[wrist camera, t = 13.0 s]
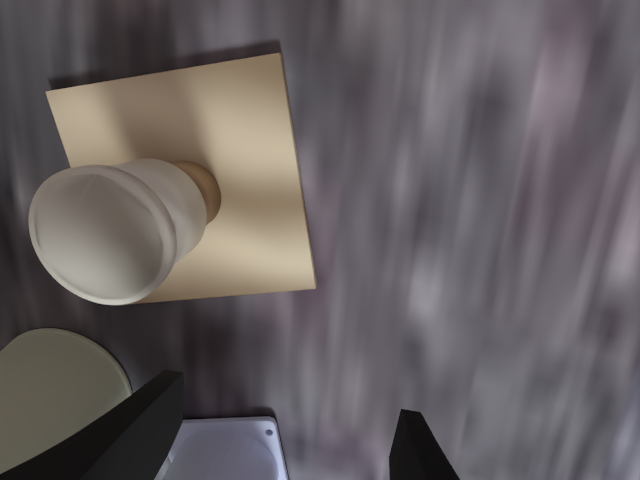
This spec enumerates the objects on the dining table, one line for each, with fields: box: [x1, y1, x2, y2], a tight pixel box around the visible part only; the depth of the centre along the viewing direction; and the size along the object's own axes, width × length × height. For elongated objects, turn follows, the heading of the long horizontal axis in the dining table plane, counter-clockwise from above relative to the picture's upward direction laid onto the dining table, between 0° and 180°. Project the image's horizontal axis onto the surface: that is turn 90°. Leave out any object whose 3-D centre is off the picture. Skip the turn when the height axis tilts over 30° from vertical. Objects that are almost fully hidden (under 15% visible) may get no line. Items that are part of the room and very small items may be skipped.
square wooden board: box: [45, 53, 317, 305], centre depth 19 cm, size 12×12×4 cm
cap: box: [28, 158, 207, 305], centre depth 15 cm, size 5×5×4 cm
